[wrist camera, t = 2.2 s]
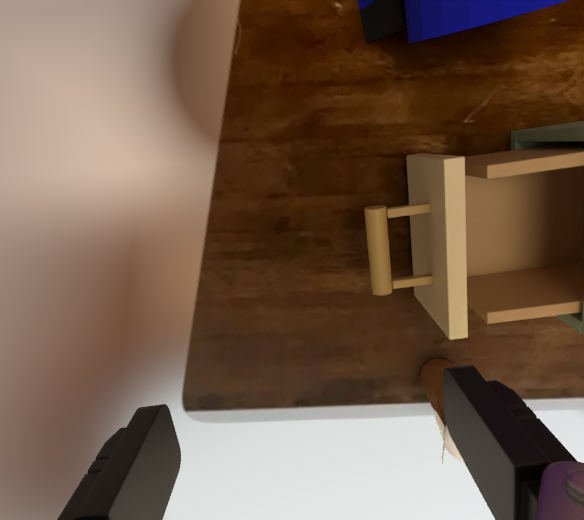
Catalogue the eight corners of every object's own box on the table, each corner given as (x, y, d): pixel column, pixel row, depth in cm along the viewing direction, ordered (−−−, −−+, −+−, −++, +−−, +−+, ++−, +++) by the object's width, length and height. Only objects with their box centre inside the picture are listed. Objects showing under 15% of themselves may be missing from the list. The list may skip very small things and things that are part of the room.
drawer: (363, 301, 33) (384, 348, 25) (350, 163, 30) (368, 170, 22) (579, 274, 32) (666, 313, 25) (589, 128, 29) (693, 123, 21)
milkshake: (401, 354, 35) (441, 433, 26) (462, 348, 35) (524, 425, 26) (404, 398, 37) (443, 488, 27) (462, 391, 36) (522, 480, 27)
